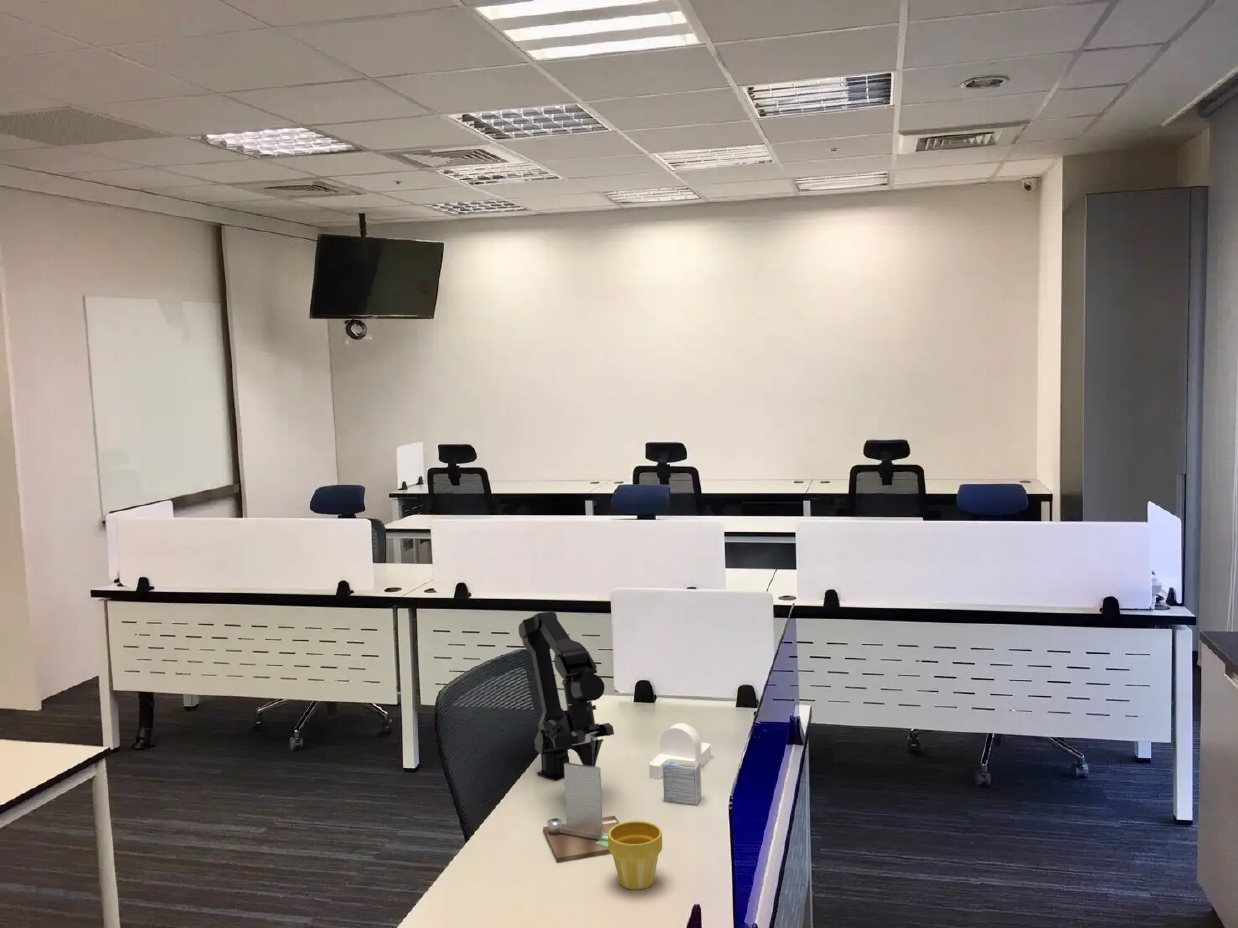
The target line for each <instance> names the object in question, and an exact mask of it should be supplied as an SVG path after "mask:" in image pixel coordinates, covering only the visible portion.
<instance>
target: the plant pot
mask: <svg viewBox="0 0 1238 928" xmlns="http://www.w3.org/2000/svg"><path fill="white" fill-rule="evenodd" d="M608 847H609V852H610V853H611V854H610V855H611V856H612V858H613V862H614V865H615V869H616V874H617V877H618V881H619V884H620V885H621V886H622V887H623V888H625V889H629V890H643V889H646V888H648V887H651V886H652V885H653V884H654V881H655V875H656V870H657V865H658V859H659V854H661V853H662V850H663V831H662V830H661V828H660V826H659V825H656V824H655V823H652V822H649V821H646V820H645V821H643V820H629V821H622V822H619V824H617V825H615V826H613V827H612V828H611V829H610V830H609V832H608Z"/></svg>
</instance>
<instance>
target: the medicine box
mask: <svg viewBox="0 0 1238 928" xmlns="http://www.w3.org/2000/svg"><path fill="white" fill-rule="evenodd" d="M701 771H702V770H701V769H700V762H696V761H687V760H676V759H668V760H667V761H666V762H665V764H664V765H663V777H662V783H663V785H662V786H663V802H664V803H666V802H667V803H674V804H676V803H677V804H684V805H692V806H693V805H694V806H698V804H699V802H700V801H701V799H702V775H701Z"/></svg>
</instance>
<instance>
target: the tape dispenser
mask: <svg viewBox="0 0 1238 928" xmlns="http://www.w3.org/2000/svg"><path fill="white" fill-rule="evenodd" d="M711 746H712V745H711V743H709V742H702V741H701V738H700V736H699V734H698V732H697V730H695V729H694V728H693V727H692V726H691V725H689V724H687V723H683V722H681V723H680V722H679V723H675V724H673V725H671V726H670V727H669V728H667V729H666V730H665V731H664V732H663V733H662V734H661V737H660V741H659V754H657V756H656V757H654V758H653V760H651V761H650V762H649V778H650V779H653V780H658V781H660V780H662V779H663V765H664V764H665V762H666V761H667V760H668V759H676V760H687V761H696V762H700V768H701V767H702V766H703V765H704V764H705V763H706V764H707V763H708V761H709V760H711V758H712V752H711V751H712V750H711V749H712V747H711ZM708 759H709V760H708ZM707 760H708V761H707ZM706 764H705V765H706ZM705 765H704V766H705ZM702 768H703V767H702ZM702 768H701V769H702Z"/></svg>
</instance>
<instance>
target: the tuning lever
mask: <svg viewBox="0 0 1238 928" xmlns="http://www.w3.org/2000/svg"><path fill="white" fill-rule="evenodd" d="M601 768H602V767H600V766H595V767H593V766H587V765H583V764H580V763H572V762H569V763H567V762H566V763H565V764H564V773H565V776H564V792H565V793H564V794H565V795H564V796H565V797H564V798H565V821H566V823H565V824H566V826H563V825H562V824H563V820H562V819H560V818H559V817H558V818H555V817H553V818H550V819H548V820H547V826H548V832H549V833H551V834H558V833H565V834H571V835H576V836H582V837H587V838H593V839H598V840H601V839H605V840H608V837H607V836H603V826H602V818H603V806H602V804H603V802H602V776H601V770H602V769H601Z"/></svg>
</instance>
